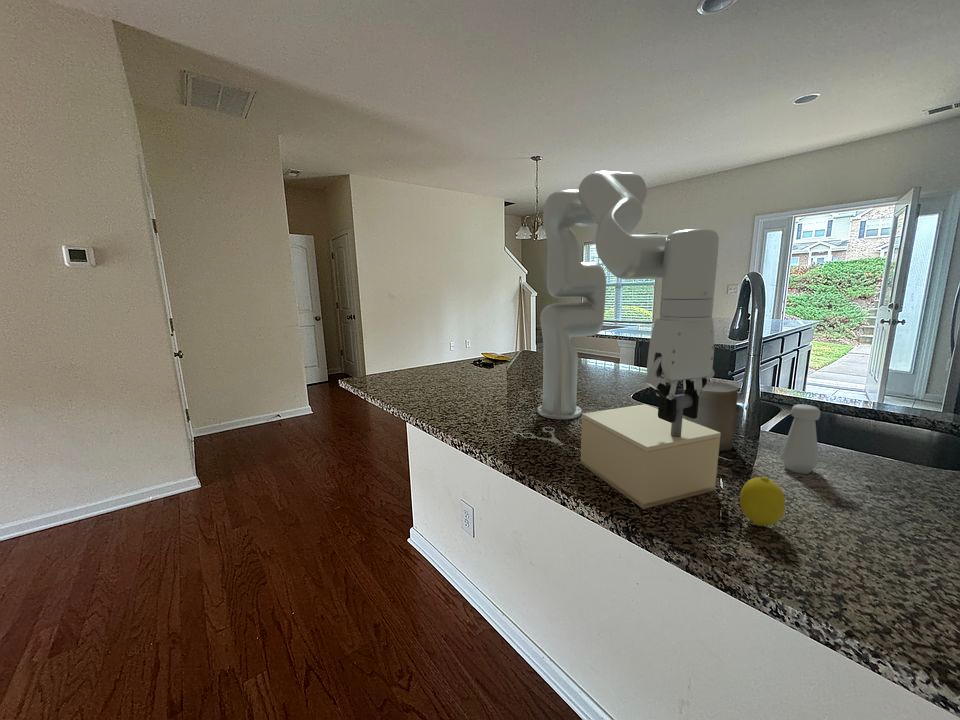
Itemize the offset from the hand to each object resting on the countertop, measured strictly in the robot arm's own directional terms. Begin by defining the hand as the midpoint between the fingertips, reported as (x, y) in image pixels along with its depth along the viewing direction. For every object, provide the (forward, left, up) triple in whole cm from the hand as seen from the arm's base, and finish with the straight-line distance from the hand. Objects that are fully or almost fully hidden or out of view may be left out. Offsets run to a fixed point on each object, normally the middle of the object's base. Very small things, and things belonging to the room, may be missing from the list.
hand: (677, 417), depth 66 cm
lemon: (+12, +5, -14) cm, 19 cm away
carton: (-7, 0, -14) cm, 16 cm away
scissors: (-28, -7, -15) cm, 32 cm away
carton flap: (-7, 0, -4) cm, 8 cm away
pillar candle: (-14, +25, -14) cm, 32 cm away
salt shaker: (+2, +30, -14) cm, 33 cm away
